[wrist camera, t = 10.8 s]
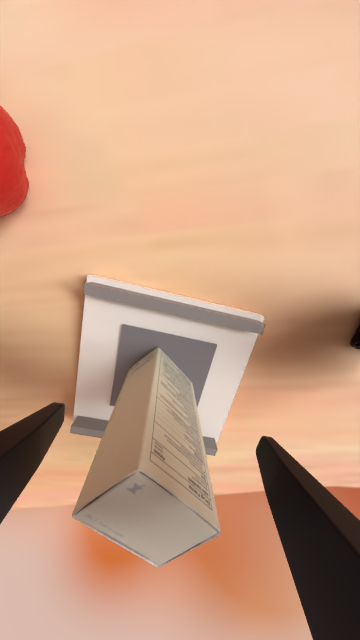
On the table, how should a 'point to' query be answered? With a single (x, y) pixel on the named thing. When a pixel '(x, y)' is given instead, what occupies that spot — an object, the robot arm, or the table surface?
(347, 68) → the table surface
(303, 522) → the robot arm
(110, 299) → the stand
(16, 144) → the pomegranate
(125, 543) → the skincare box
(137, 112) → the table surface
